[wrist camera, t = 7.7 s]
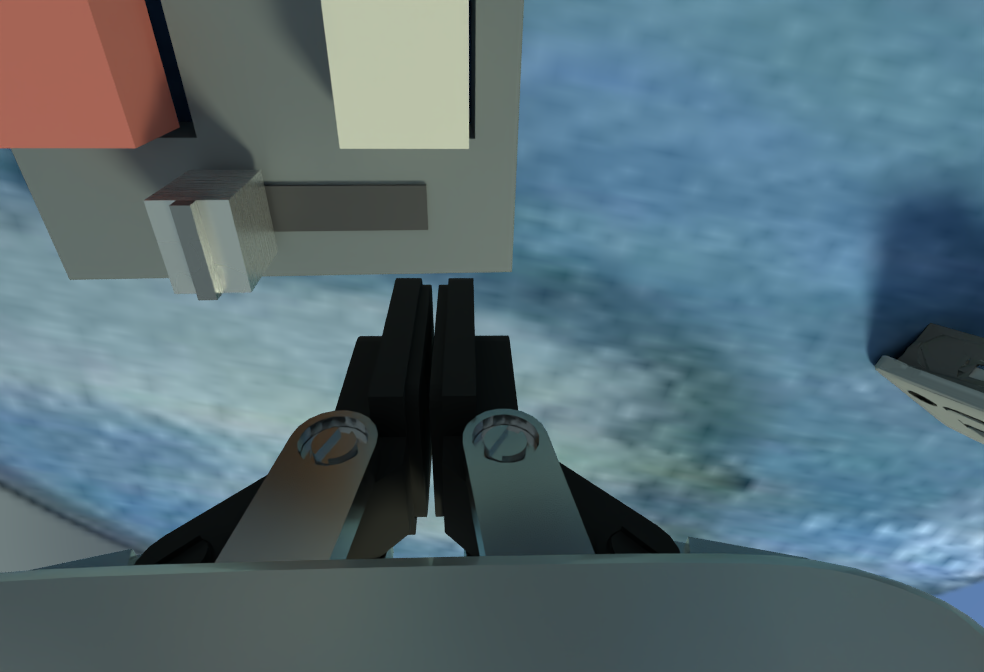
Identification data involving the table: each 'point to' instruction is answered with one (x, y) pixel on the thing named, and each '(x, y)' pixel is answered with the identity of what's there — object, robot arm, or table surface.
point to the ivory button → (399, 72)
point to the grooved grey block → (213, 231)
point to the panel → (297, 156)
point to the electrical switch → (943, 377)
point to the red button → (81, 75)
